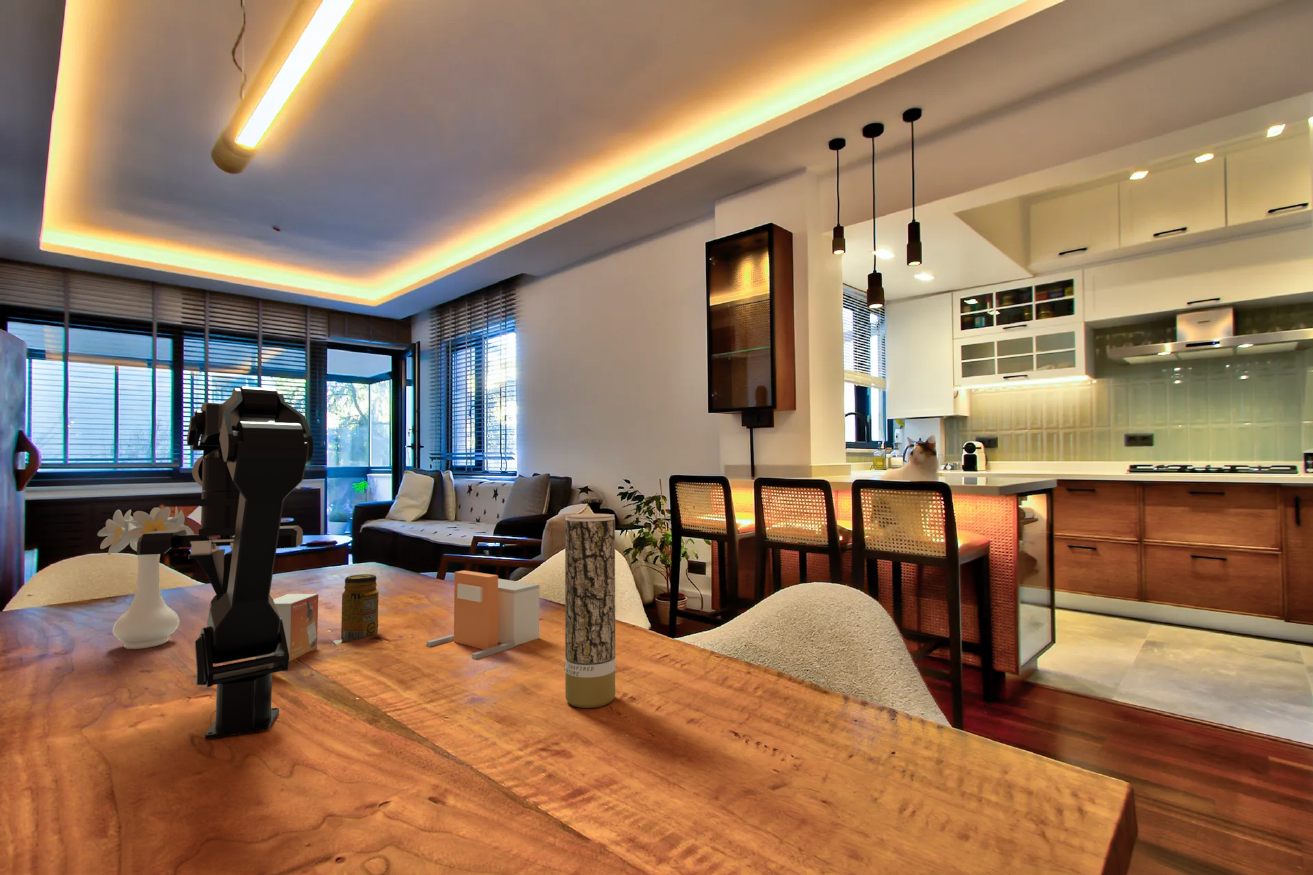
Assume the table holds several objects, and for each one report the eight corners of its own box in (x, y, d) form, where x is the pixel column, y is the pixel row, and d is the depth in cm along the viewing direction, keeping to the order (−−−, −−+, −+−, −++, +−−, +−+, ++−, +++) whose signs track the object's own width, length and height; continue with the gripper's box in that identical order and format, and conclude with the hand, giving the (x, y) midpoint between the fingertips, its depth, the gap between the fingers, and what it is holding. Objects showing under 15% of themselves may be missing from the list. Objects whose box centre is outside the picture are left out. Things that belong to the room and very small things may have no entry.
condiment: (374, 635, 116) (375, 571, 117) (387, 644, 110) (388, 577, 110) (332, 642, 112) (333, 576, 112) (343, 652, 105) (344, 582, 106)
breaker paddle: (485, 651, 100) (486, 577, 101) (451, 642, 106) (452, 572, 106) (497, 647, 102) (498, 575, 103) (463, 639, 108) (464, 570, 108)
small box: (289, 671, 96) (290, 603, 96) (253, 671, 96) (255, 603, 96) (318, 655, 104) (319, 592, 104) (285, 655, 104) (287, 593, 104)
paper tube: (607, 711, 79) (607, 517, 80) (557, 707, 80) (558, 517, 82) (621, 692, 86) (620, 513, 87) (574, 689, 87) (574, 513, 88)
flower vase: (147, 631, 120) (151, 503, 121) (213, 639, 114) (217, 504, 115) (65, 650, 108) (70, 507, 109) (134, 660, 102) (139, 509, 103)
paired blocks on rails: (448, 679, 92) (448, 606, 92) (394, 662, 100) (395, 595, 100) (544, 646, 108) (544, 584, 108) (492, 634, 116) (492, 577, 116)
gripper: (310, 487, 99) (308, 585, 98) (169, 490, 92) (165, 594, 91) (296, 490, 88) (294, 599, 88) (136, 493, 82) (132, 611, 81)
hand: (223, 600), depth 87 cm, fingers closed
